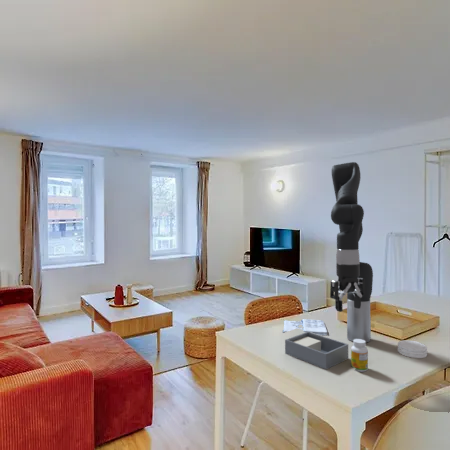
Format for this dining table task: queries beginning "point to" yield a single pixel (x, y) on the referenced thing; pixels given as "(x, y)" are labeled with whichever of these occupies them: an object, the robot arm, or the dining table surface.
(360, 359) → the supplement bottle
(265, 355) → the dining table surface
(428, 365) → the dining table surface
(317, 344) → the beige rectangular block
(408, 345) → the white round bowl
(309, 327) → the folded white cloth
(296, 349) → the crate
